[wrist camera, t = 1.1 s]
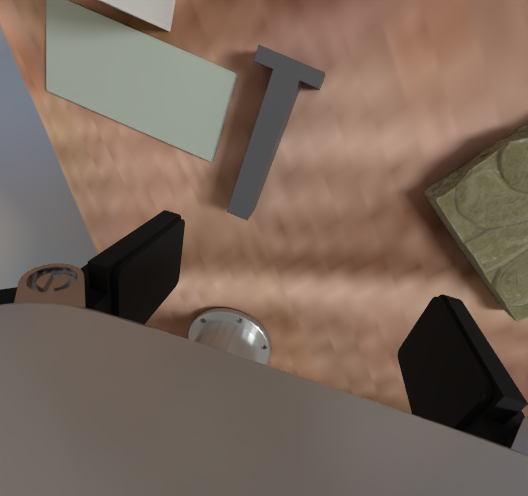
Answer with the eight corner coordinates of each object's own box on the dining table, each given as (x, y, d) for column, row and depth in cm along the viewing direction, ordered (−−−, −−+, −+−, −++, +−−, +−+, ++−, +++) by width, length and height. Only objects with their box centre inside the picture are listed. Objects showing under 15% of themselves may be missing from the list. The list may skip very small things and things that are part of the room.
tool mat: (213, 161, 33) (211, 162, 32) (50, 90, 33) (46, 90, 33) (237, 73, 29) (236, 73, 28) (51, -7, 29) (46, -9, 28)
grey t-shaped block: (268, 216, 35) (262, 227, 32) (221, 196, 35) (211, 205, 32) (325, 76, 27) (324, 72, 24) (266, 51, 28) (258, 44, 24)
